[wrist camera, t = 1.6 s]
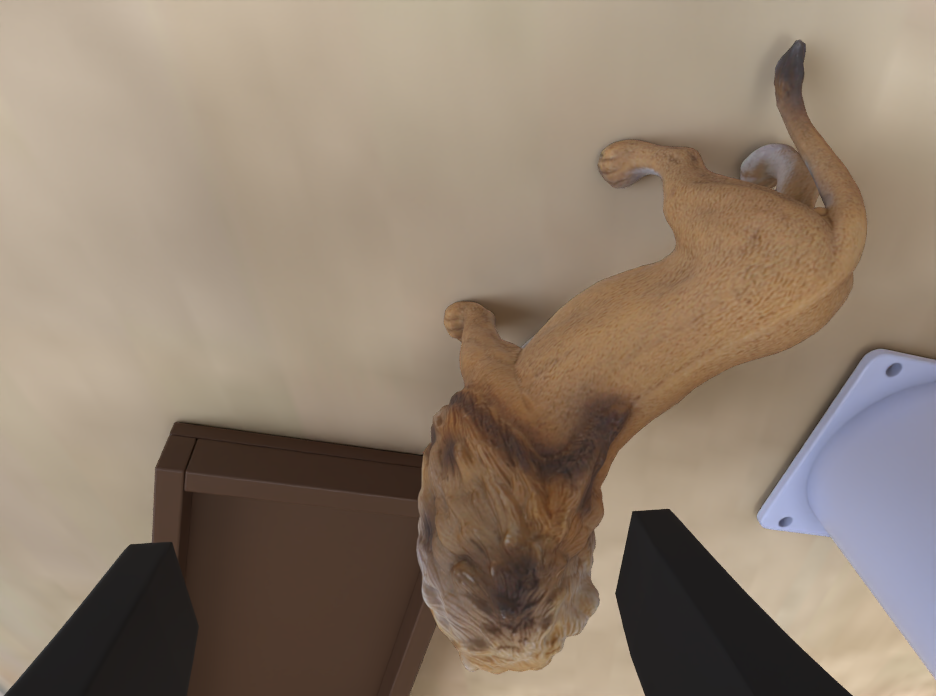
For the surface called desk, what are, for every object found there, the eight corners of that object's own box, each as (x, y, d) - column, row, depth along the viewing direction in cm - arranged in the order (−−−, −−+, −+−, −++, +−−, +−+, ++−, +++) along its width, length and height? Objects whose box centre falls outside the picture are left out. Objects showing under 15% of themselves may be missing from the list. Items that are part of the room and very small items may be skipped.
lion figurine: (498, 465, 23) (555, 735, 15) (365, 398, 21) (353, 672, 13) (847, 100, 17) (1212, 236, 10) (713, -42, 15) (1047, -13, 7)
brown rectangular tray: (474, 462, 22) (482, 507, 21) (373, 742, 31) (373, 791, 29) (174, 420, 20) (154, 467, 18) (155, 734, 29) (140, 786, 27)
